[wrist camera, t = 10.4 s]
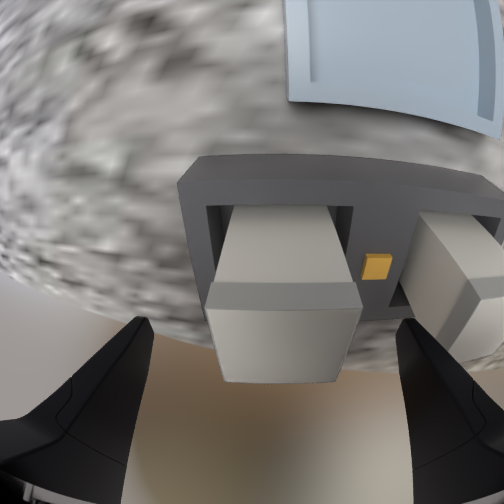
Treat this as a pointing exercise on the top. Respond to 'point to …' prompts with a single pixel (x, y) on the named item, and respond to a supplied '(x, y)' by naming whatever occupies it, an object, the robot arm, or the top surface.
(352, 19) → the tray
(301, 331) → the plug
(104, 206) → the top surface
